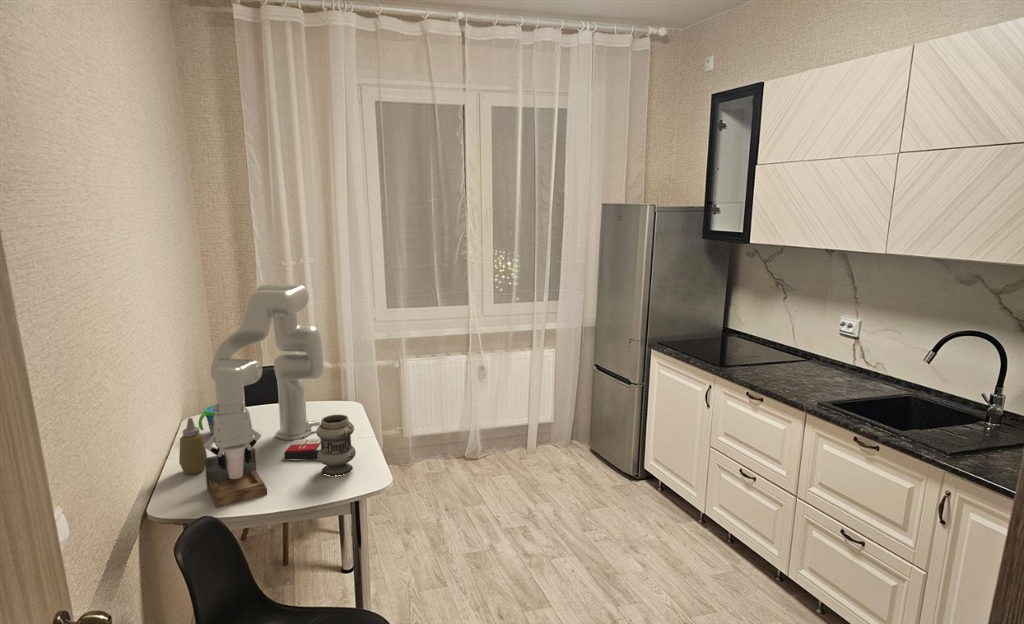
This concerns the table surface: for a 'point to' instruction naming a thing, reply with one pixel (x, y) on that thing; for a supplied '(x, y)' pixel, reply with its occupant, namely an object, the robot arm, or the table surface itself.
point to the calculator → (303, 449)
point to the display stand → (233, 482)
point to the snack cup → (208, 418)
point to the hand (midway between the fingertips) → (235, 464)
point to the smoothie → (235, 460)
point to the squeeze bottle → (192, 449)
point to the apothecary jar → (335, 444)
